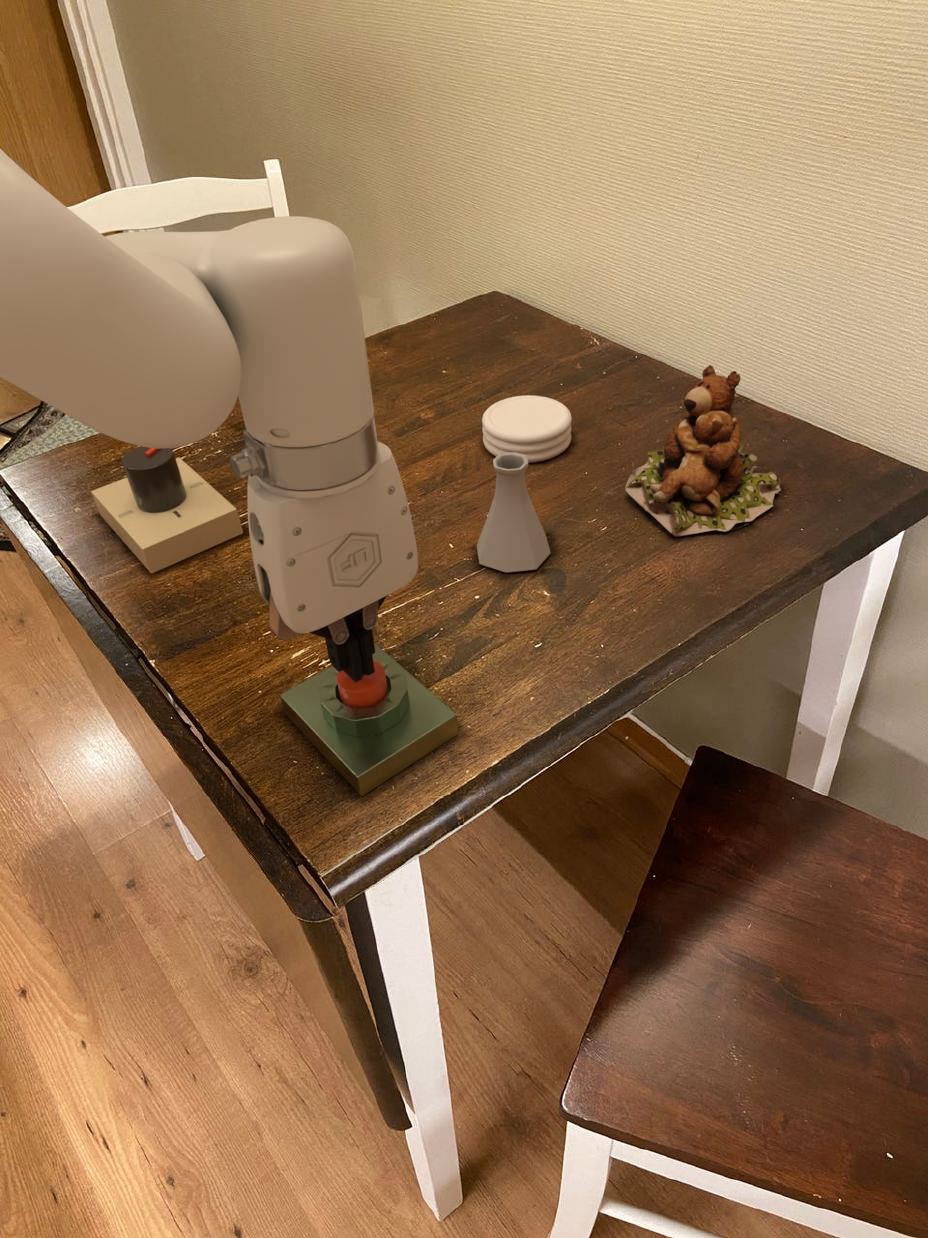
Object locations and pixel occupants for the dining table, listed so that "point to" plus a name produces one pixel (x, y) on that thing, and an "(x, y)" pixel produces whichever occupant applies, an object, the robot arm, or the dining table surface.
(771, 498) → the bear figurine
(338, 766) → the button block
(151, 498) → the knob
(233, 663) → the dining table surface
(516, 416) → the cream round flat cylinder
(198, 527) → the panel
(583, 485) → the dining table surface
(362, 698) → the button
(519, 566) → the flask
